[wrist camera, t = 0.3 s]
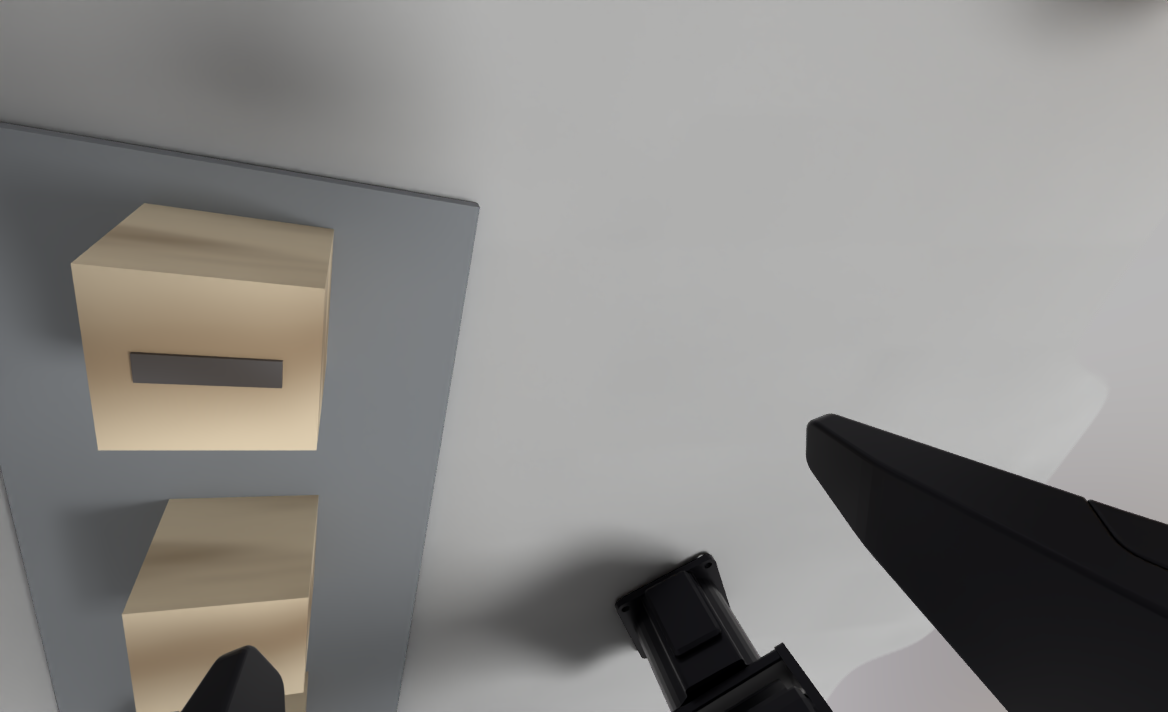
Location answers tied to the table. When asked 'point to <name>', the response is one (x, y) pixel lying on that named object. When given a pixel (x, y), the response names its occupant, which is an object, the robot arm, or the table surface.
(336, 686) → the mat
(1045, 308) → the table surface
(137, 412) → the marked block
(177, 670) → the plain block
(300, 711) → the marked block
